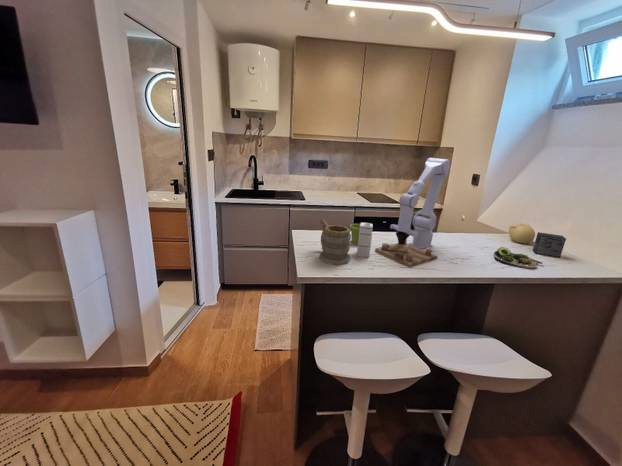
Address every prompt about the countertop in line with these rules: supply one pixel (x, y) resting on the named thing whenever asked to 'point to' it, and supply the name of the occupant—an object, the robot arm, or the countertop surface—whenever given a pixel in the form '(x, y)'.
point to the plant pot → (355, 232)
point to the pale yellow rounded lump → (521, 233)
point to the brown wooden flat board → (408, 255)
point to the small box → (549, 245)
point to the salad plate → (514, 258)
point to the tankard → (335, 244)
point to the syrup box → (364, 239)
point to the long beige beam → (394, 247)
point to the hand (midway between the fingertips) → (400, 246)
